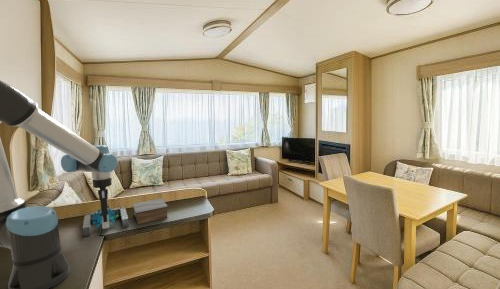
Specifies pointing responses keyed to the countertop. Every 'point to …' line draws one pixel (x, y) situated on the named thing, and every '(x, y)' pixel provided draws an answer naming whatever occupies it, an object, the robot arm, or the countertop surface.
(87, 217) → the cradle
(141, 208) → the dark brown wooden box
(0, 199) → the robot arm
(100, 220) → the blue lumpy piece
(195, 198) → the countertop surface
